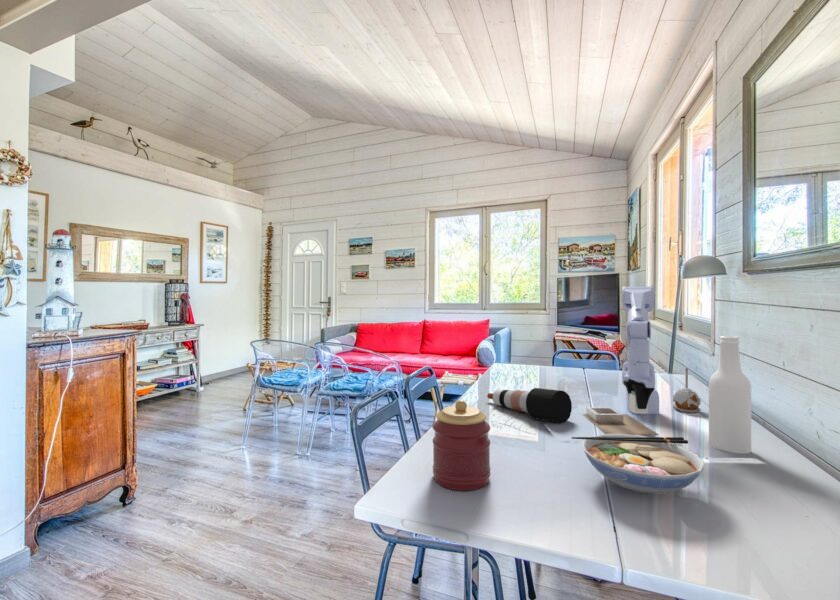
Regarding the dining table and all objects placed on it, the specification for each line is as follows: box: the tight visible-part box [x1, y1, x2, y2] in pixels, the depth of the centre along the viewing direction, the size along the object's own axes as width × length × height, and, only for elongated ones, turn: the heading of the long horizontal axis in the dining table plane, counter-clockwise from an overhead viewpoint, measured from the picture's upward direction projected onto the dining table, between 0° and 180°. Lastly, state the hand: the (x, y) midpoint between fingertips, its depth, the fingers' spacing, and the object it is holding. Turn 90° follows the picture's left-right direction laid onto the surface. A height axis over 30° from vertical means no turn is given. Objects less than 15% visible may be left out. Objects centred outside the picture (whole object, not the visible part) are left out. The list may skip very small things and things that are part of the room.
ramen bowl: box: [571, 433, 705, 495], centre depth 85 cm, size 25×23×8 cm
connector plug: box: [629, 391, 648, 414], centre depth 118 cm, size 4×4×7 cm
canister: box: [432, 399, 492, 491], centre depth 89 cm, size 13×13×18 cm
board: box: [581, 413, 660, 436], centre depth 123 cm, size 15×20×1 cm
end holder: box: [585, 406, 623, 423], centre depth 128 cm, size 8×8×2 cm
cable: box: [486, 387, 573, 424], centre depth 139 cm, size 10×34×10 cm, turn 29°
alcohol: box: [708, 335, 752, 454], centre depth 104 cm, size 9×9×30 cm
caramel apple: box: [672, 367, 702, 413], centre depth 140 cm, size 8×8×15 cm
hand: (638, 406), depth 118 cm, fingers closed on connector plug, 4 cm apart
